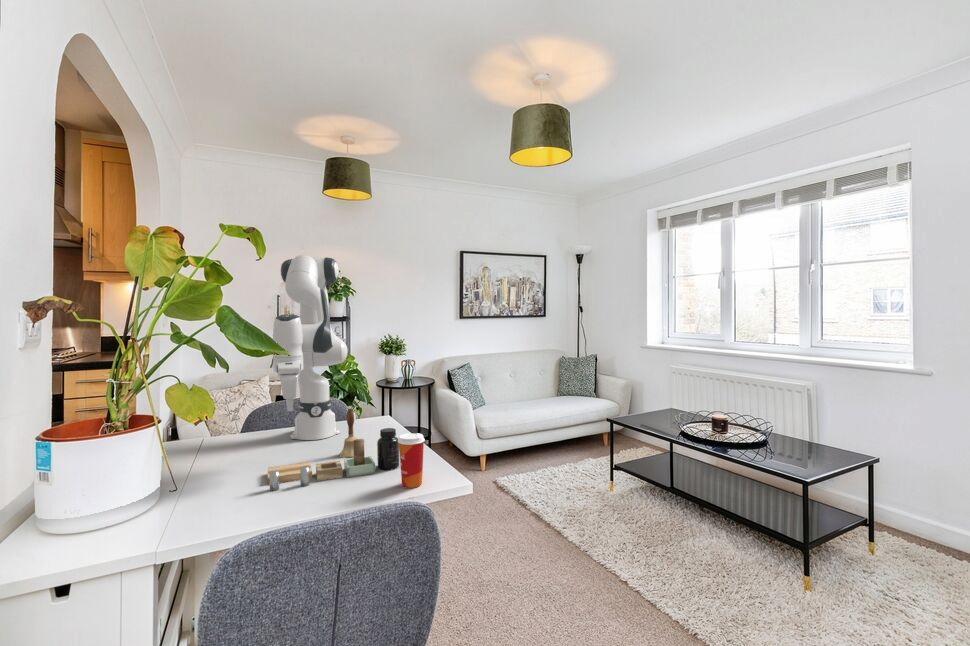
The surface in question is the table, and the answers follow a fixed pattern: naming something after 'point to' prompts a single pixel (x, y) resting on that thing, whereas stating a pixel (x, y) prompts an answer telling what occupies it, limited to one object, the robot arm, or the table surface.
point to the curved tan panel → (289, 471)
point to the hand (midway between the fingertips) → (289, 407)
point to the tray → (359, 467)
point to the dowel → (358, 452)
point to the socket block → (329, 470)
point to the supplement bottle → (388, 449)
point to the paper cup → (411, 459)
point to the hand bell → (349, 437)
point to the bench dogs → (275, 478)
